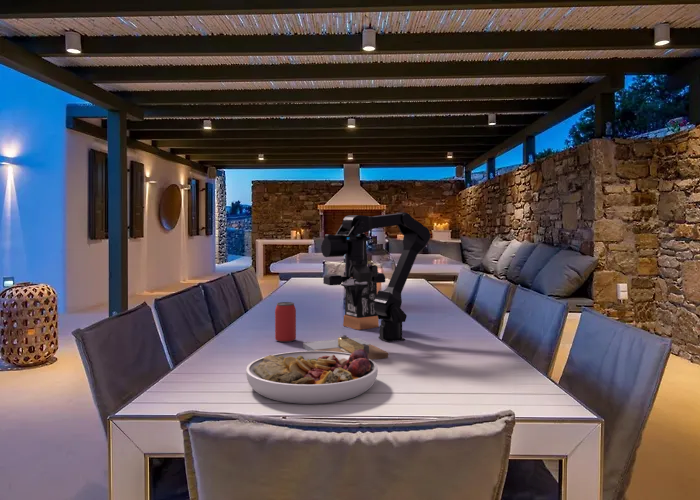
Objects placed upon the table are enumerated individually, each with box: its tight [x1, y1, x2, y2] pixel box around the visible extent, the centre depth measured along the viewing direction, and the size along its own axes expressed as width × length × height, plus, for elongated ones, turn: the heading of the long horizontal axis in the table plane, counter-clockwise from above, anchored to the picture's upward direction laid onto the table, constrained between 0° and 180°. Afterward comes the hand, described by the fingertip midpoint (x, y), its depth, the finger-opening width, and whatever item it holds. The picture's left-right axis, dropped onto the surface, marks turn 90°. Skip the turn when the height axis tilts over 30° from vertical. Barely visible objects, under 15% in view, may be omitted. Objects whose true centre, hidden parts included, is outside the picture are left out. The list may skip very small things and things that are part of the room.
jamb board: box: [302, 337, 372, 351], centre depth 160 cm, size 18×12×2 cm, turn 113°
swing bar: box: [337, 334, 364, 353], centre depth 151 cm, size 13×3×3 cm, turn 23°
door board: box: [315, 344, 389, 361], centre depth 151 cm, size 18×11×4 cm, turn 113°
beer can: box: [274, 301, 297, 343], centre depth 171 cm, size 7×7×12 cm
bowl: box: [245, 349, 378, 405], centre depth 123 cm, size 30×30×8 cm
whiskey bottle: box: [342, 241, 380, 331], centre depth 195 cm, size 10×10×32 cm
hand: (354, 306), depth 165 cm, fingers closed
